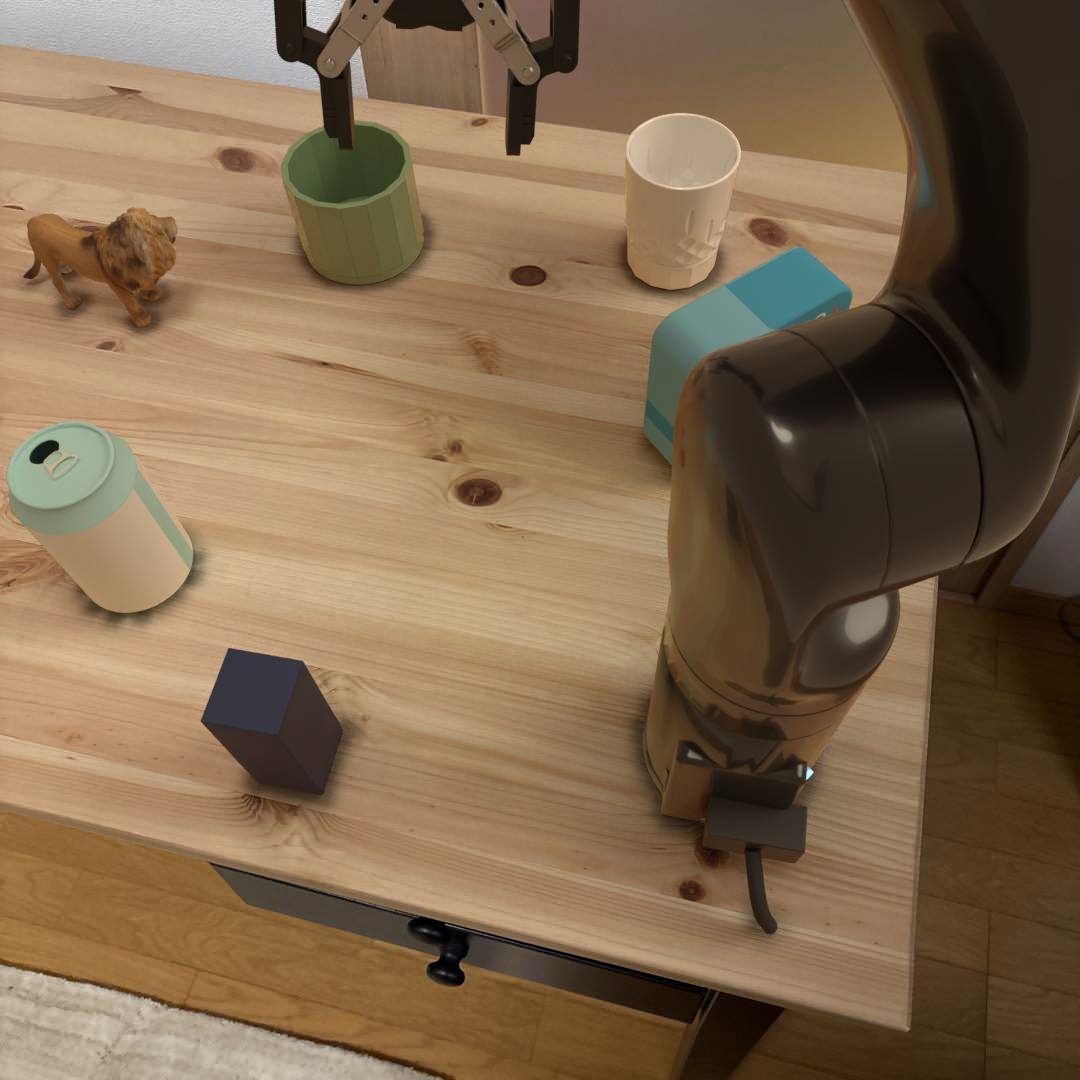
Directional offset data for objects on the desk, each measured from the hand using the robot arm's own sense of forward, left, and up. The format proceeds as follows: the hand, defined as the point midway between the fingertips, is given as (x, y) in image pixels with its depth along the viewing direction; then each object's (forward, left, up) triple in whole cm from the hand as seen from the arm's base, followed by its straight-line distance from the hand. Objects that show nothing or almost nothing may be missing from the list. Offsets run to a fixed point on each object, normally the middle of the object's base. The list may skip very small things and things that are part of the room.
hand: (431, 146), depth 52 cm
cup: (+14, +12, -21) cm, 28 cm away
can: (-17, +18, -22) cm, 33 cm away
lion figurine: (+6, +29, -22) cm, 37 cm away
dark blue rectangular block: (-27, +4, -21) cm, 34 cm away
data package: (+1, -18, -22) cm, 28 cm away
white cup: (+16, -12, -22) cm, 30 cm away
